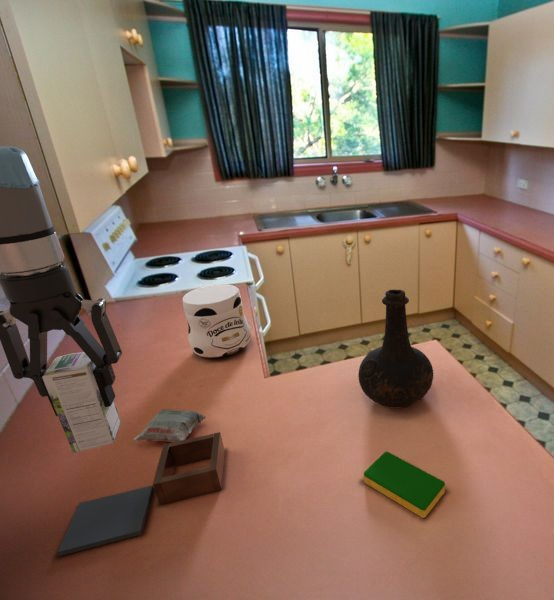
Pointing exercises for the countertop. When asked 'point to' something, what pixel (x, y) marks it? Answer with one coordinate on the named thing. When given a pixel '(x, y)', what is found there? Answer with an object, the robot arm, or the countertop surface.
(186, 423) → the packaged food
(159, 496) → the holder
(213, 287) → the doce de leite jar
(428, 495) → the dish sponge
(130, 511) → the mat
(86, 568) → the countertop surface
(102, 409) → the syrup box
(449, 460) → the countertop surface
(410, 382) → the glass bottle
